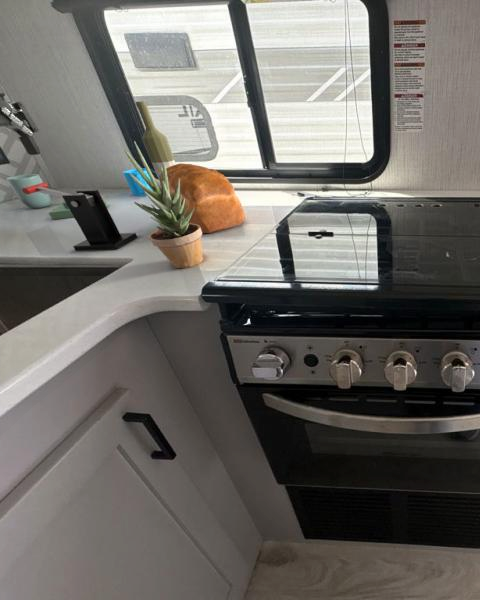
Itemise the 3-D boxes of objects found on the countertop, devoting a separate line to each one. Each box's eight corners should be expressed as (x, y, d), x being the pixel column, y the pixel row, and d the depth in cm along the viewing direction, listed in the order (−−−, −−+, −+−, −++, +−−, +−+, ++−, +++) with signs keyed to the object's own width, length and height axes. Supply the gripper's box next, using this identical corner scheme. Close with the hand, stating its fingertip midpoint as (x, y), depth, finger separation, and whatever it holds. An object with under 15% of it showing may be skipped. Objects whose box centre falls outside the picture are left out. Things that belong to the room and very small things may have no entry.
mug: (133, 192, 128) (123, 170, 123) (157, 189, 132) (148, 167, 127) (133, 199, 119) (122, 175, 115) (159, 195, 123) (150, 172, 119)
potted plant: (157, 263, 73) (99, 141, 60) (201, 249, 79) (158, 136, 66) (173, 277, 67) (113, 145, 54) (219, 261, 73) (176, 139, 60)
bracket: (75, 250, 80) (43, 198, 73) (99, 238, 87) (72, 188, 80) (116, 249, 80) (88, 196, 74) (137, 237, 87) (113, 187, 80)
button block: (53, 219, 101) (45, 206, 99) (63, 211, 109) (56, 198, 107) (100, 213, 106) (94, 200, 104) (107, 205, 113) (101, 193, 111)
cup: (26, 206, 114) (7, 176, 109) (56, 202, 119) (38, 172, 113) (25, 211, 109) (4, 180, 104) (55, 206, 114) (38, 176, 108)
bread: (202, 237, 86) (179, 175, 77) (165, 217, 100) (143, 163, 92) (252, 223, 95) (236, 165, 86) (211, 206, 109) (194, 156, 101)
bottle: (180, 199, 117) (143, 101, 101) (161, 200, 118) (121, 102, 101) (191, 194, 123) (158, 101, 107) (173, 194, 123) (137, 101, 107)
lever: (23, 195, 74) (20, 185, 73) (43, 189, 79) (40, 179, 77) (83, 210, 77) (81, 200, 75) (99, 203, 81) (97, 194, 80)
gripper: (-18, 70, 70) (29, 153, 78) (-103, 66, 58) (-36, 164, 66) (18, 69, 70) (61, 152, 79) (-59, 65, 58) (2, 163, 67)
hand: (17, 157), depth 73 cm, fingers open, 8 cm apart
